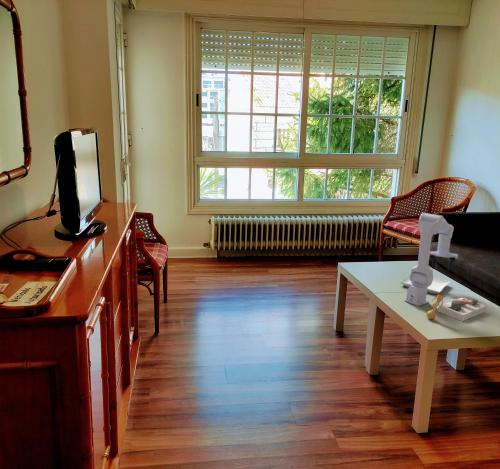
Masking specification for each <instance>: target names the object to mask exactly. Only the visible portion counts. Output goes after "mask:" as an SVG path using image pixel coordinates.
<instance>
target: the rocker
mask: <svg viewBox="0 0 500 469" xmlns="http://www.w3.org/2000/svg"><path fill="white" fill-rule="evenodd" d="M454 301H459V302H461V303H462V304H469V305H471V304H473V301H471V300H470V299H468V300H459V298H456V299H454Z"/></svg>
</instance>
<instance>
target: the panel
mask: <svg viewBox="0 0 500 469" xmlns="http://www.w3.org/2000/svg"><path fill="white" fill-rule="evenodd" d="M458 299H459V300H469V299H467V298H465V297H459V298H458ZM454 300H455V299H454ZM454 300H452V301H454ZM452 301H448V302H445V303H443V304H442V305H441V304H440V305H441V308H440V307H439V306H438V310H437V311H438V312H439V313H441V314H444V315H446V316H448V317H451V318H454V319H456V320H459V321H461V322H464V321H466V320H469V319H471V318H474V317H475V316H478V315H480V314H483V313H486V312H485V311H486V308H487V307H486V305H484V304H481V303H479V302H477V305H472V304H471V305H469V304H462V307H461V310H460V311H455V310H452V309H451V303H452Z"/></svg>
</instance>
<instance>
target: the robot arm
mask: <svg viewBox="0 0 500 469" xmlns="http://www.w3.org/2000/svg"><path fill="white" fill-rule="evenodd" d="M417 227H418V228H417V229H418V231H419V232H420V239H419V248H418V249H419V250H418V258H417V259H418V260H417V265H414V266H413V267H411V269H410V272H409V274H410V276H409V279H410V281H411V284H412V286H411V287H407V291H406V298H405V299H404V300H403V301H404V302H407V303H409V304H411V305H413V306H417V307H420V306H423V305H425V304H426V305H427V304H428V303H430V301H429V300H427V293H428V292H427V288H428V286H430V285H431V284H432V281H433V277H434V274H433V273H434V272H433V270H434V269H435V260H436V257H442V258H448V259H449V260H448V261H449V262H448V266H447V271H448V272H450V269H451V268H452V266H453V264H455V262H456V260H458V258H459V257H458V256H459V255H458V253H452V252H450V246H451V241H452V240H451V239H452V237H453V232H454V229H455V228H454V226H453V224H449V223H448V222H447V220H446V219H445V218H444V216H443V215H440V214H439V215H438V214H433V213H432V214H431V213H426V212H422V213H421V214H420V216H419V218H418V226H417ZM437 234H438V242H437V250H434V251H433V250H431V247H432V246H431V244H432V237H433V235H437ZM429 261H430V262H431V265H432V266H431V267H432V268H431V267H430V265H429Z"/></svg>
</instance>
